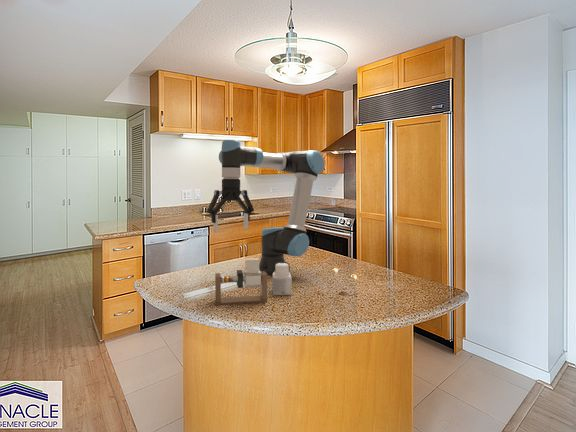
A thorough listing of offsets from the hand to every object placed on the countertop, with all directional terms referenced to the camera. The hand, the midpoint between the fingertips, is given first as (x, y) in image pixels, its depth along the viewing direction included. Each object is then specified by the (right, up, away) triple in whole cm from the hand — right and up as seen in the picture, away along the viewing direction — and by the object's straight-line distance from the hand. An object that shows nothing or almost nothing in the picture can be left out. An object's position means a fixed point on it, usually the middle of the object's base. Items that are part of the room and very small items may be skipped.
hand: (231, 229), depth 144 cm
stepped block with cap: (+10, -22, -6) cm, 25 cm away
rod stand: (+5, -28, -7) cm, 29 cm away
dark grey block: (+5, -22, -7) cm, 24 cm away
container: (+21, -27, +5) cm, 35 cm away
